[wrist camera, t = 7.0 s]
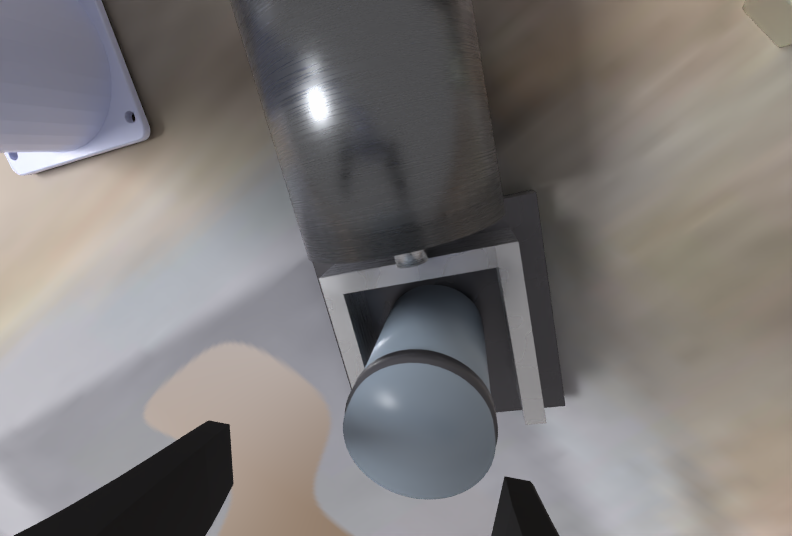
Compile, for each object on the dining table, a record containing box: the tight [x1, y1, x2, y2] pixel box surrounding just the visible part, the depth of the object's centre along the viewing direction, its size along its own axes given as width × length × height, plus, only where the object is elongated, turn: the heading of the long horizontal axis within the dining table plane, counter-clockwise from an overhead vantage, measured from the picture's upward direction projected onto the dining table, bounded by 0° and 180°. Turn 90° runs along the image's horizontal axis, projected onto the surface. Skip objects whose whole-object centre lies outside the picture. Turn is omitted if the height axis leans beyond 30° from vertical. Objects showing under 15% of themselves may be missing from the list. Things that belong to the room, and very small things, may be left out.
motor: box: [230, 0, 565, 425], centre depth 14 cm, size 19×10×7 cm, turn 14°
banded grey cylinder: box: [343, 285, 498, 499], centre depth 14 cm, size 5×5×7 cm
